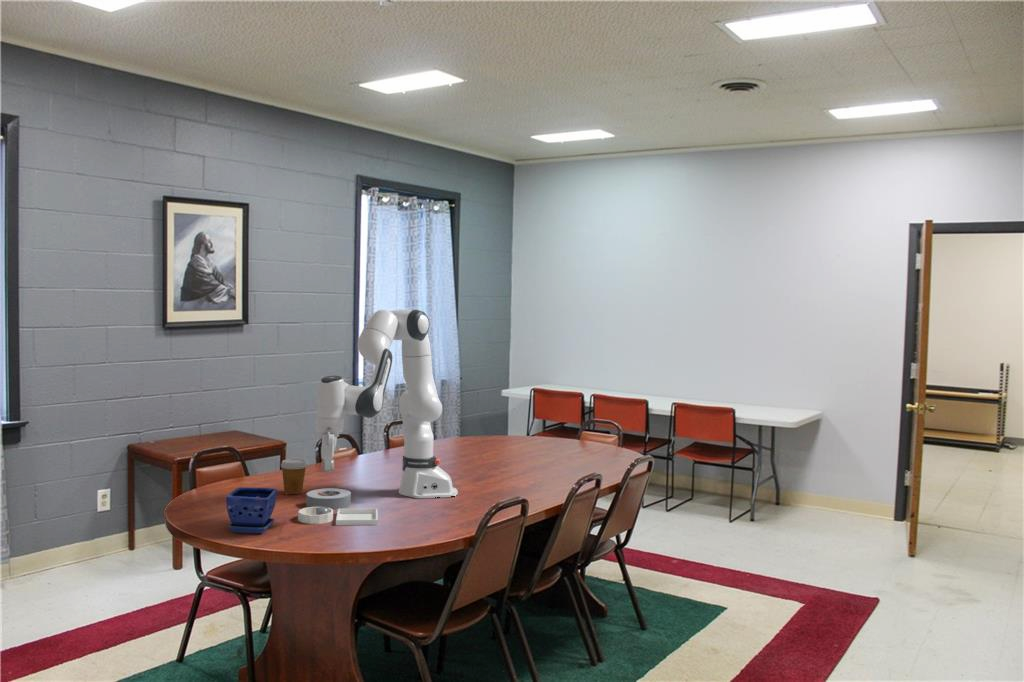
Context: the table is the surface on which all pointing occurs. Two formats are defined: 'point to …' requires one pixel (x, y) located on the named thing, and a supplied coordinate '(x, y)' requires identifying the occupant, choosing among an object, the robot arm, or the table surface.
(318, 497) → the tape roll
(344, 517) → the tray
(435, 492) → the robot arm
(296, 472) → the disposable coffee cup
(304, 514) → the bowl
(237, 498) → the flower pot
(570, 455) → the table surface
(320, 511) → the pebble
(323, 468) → the pebble
